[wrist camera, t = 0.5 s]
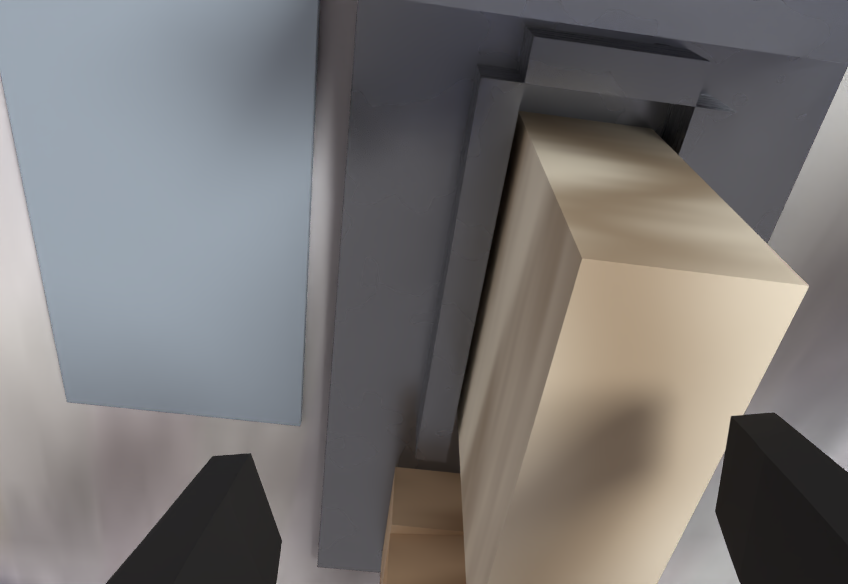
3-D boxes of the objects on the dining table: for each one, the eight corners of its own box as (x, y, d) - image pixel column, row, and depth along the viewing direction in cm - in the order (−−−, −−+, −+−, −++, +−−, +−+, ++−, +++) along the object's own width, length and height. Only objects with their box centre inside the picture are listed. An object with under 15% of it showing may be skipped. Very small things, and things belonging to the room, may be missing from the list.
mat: (320, -9, 16) (318, -7, 15) (301, 420, 23) (300, 426, 23) (-18, -57, 15) (-27, -57, 15) (71, 396, 22) (67, 402, 22)
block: (651, 128, 17) (809, 286, 10) (559, 419, 22) (619, 657, 15) (518, 110, 16) (582, 258, 9) (456, 408, 21) (469, 644, 15)
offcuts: (588, 482, 23) (624, 612, 19) (554, 572, 26) (579, 704, 22) (395, 462, 23) (387, 591, 18) (381, 556, 25) (371, 688, 21)
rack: (886, -69, 15) (1258, -49, 8) (603, 575, 27) (660, 794, 20) (371, -150, 14) (319, -201, 7) (320, 549, 26) (282, 766, 20)
